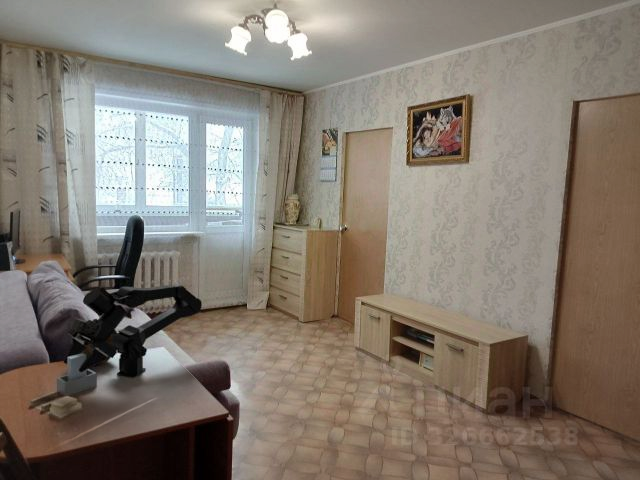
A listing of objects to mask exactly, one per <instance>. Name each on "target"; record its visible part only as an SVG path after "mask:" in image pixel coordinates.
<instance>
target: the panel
mask: <svg viewBox="0 0 640 480" xmlns="http://www.w3.org/2000/svg"><path fill="white" fill-rule="evenodd" d="M85 359H86V354H84V353H81V354H77V355H74V356H70V357H67V364H66V366H67V369H66V370H67V375H68V381H70V380H73V379H77V378H80V377H83V376H86V370H85V371H83V372H80V371H79V368H80V367H81V365H82V364H83V362H84V361H85Z"/></svg>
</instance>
